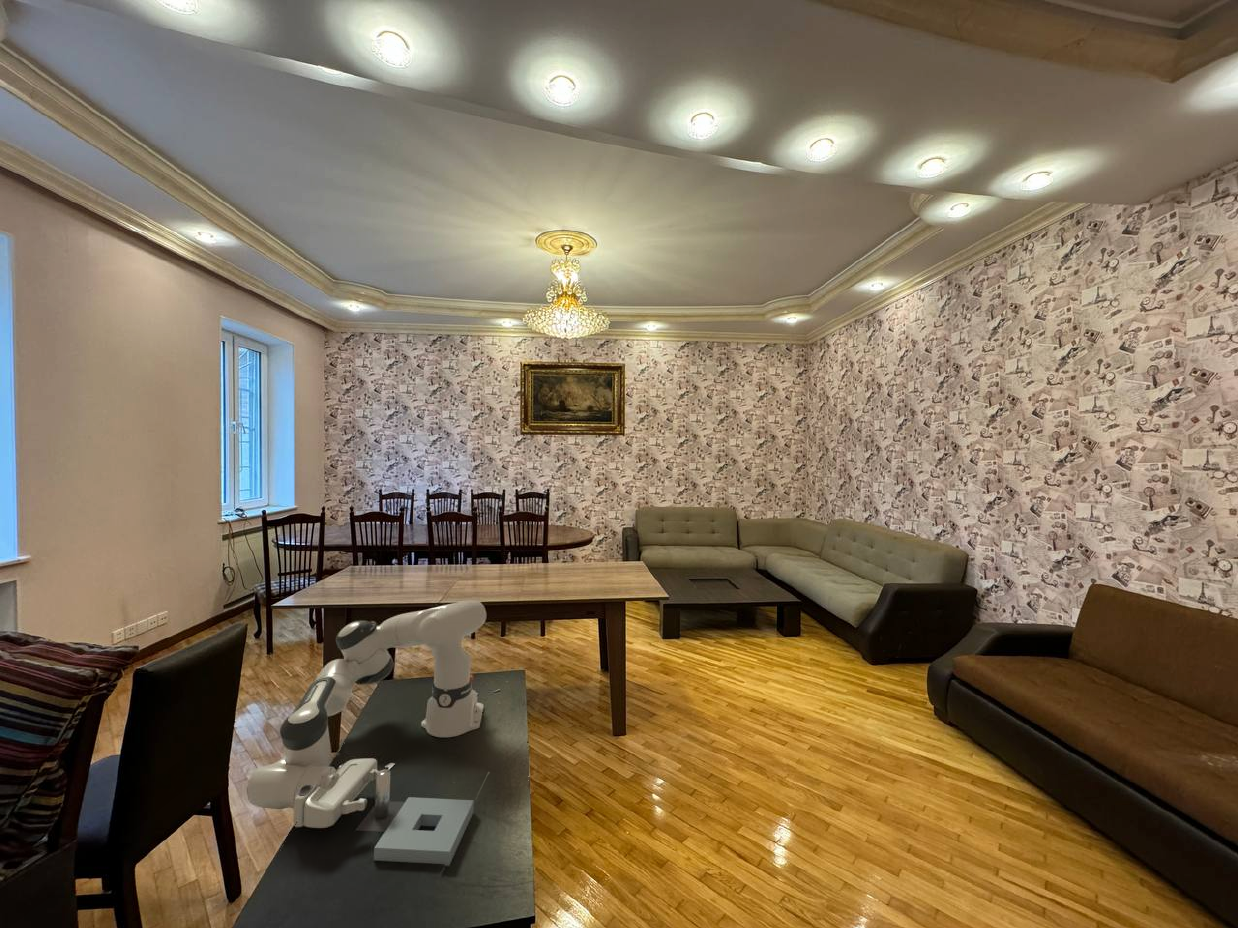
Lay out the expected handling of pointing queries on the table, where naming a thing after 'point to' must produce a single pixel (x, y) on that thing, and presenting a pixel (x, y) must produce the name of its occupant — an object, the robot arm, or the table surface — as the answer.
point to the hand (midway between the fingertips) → (376, 790)
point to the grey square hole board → (425, 845)
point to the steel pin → (382, 794)
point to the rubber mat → (380, 825)
